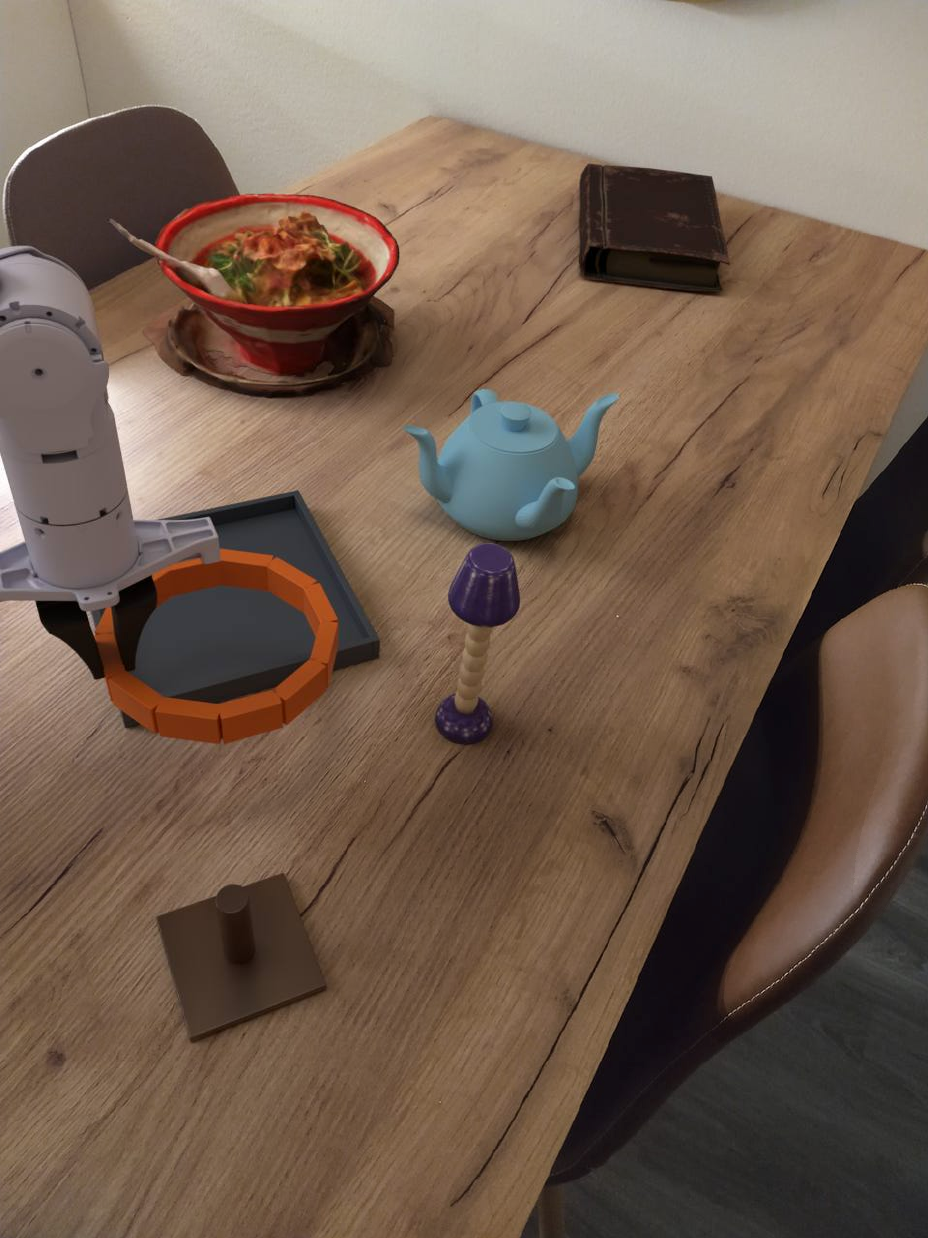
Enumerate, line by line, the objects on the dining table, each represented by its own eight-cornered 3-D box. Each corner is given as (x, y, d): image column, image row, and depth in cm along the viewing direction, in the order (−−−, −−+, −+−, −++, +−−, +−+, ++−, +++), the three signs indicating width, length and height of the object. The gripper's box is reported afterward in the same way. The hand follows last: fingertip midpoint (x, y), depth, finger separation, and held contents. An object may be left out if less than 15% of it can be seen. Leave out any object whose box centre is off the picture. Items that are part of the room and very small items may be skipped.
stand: (190, 1043, 57) (177, 990, 52) (156, 921, 62) (141, 863, 57) (326, 989, 60) (325, 935, 55) (284, 877, 65) (279, 818, 60)
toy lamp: (509, 720, 75) (541, 551, 64) (476, 761, 72) (502, 592, 61) (455, 690, 77) (476, 520, 65) (420, 730, 74) (435, 558, 62)
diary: (576, 280, 125) (583, 240, 122) (576, 196, 143) (582, 159, 139) (727, 298, 125) (738, 259, 122) (708, 212, 143) (718, 175, 139)
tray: (125, 728, 72) (120, 710, 70) (74, 556, 84) (69, 537, 82) (379, 657, 79) (380, 639, 77) (299, 507, 90) (298, 489, 89)
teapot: (464, 439, 100) (473, 345, 93) (609, 487, 96) (630, 393, 89) (396, 523, 90) (400, 426, 83) (555, 580, 86) (574, 483, 79)
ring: (130, 770, 60) (125, 745, 58) (83, 604, 69) (77, 577, 67) (367, 704, 65) (368, 679, 63) (294, 557, 74) (294, 531, 72)
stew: (130, 424, 97) (102, 263, 86) (134, 298, 113) (111, 149, 102) (421, 410, 103) (430, 258, 91) (384, 293, 119) (389, 151, 107)
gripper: (-72, 570, 49) (-4, 744, 59) (226, 509, 54) (244, 678, 64) (-84, 484, 53) (-20, 659, 63) (193, 434, 58) (214, 604, 68)
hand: (111, 664), depth 64 cm, fingers closed on ring, 1 cm apart
